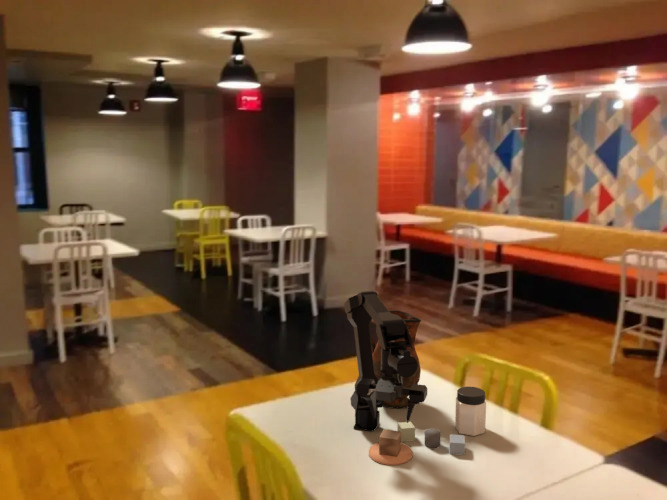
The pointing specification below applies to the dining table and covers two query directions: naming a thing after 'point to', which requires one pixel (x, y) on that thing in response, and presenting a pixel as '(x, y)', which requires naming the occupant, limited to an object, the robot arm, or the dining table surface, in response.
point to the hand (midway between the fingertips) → (391, 419)
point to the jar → (470, 411)
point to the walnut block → (390, 443)
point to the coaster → (402, 457)
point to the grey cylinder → (432, 438)
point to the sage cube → (406, 431)
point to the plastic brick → (457, 444)
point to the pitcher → (414, 379)
